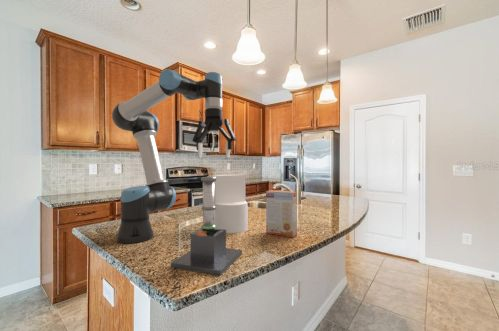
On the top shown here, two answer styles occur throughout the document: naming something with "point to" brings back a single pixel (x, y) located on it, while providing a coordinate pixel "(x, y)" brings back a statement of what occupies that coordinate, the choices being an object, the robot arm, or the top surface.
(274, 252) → the top surface
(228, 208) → the cylinder
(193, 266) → the square socket stand
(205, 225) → the silver mushroom-headed rod
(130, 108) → the robot arm
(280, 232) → the cracker box
